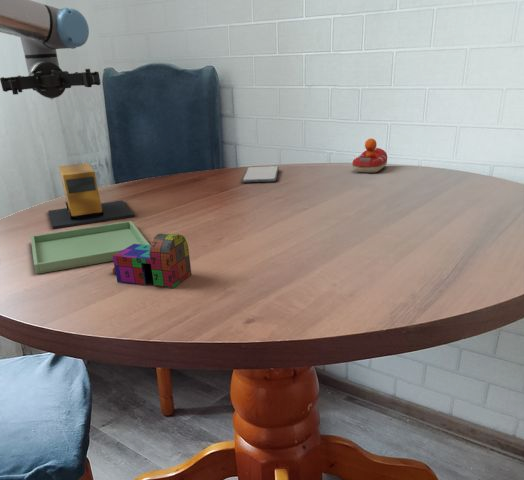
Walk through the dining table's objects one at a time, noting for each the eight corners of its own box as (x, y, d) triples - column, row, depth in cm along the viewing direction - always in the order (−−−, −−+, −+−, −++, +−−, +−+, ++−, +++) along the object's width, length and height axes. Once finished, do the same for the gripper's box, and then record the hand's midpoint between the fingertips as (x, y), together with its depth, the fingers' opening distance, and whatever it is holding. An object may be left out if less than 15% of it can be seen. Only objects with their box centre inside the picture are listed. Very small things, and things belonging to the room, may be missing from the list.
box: (36, 274, 84) (33, 264, 83) (32, 244, 98) (30, 235, 97) (151, 254, 89) (150, 245, 89) (132, 228, 103) (131, 220, 103)
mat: (53, 228, 106) (52, 226, 106) (48, 212, 117) (48, 210, 117) (134, 216, 111) (133, 214, 111) (122, 202, 122) (122, 200, 122)
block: (199, 268, 82) (194, 224, 79) (172, 288, 76) (166, 241, 72) (132, 261, 86) (125, 219, 83) (102, 280, 80) (93, 235, 77)
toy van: (71, 222, 108) (61, 175, 103) (66, 209, 117) (57, 166, 113) (105, 217, 110) (96, 171, 106) (97, 205, 119) (89, 162, 115)
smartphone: (242, 179, 133) (247, 166, 146) (242, 183, 134) (248, 170, 146) (275, 178, 132) (278, 165, 145) (275, 182, 133) (278, 169, 146)
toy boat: (389, 165, 144) (391, 135, 140) (378, 174, 135) (380, 142, 131) (361, 164, 147) (362, 135, 143) (349, 173, 138) (350, 141, 134)
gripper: (105, 93, 133) (119, 97, 115) (-5, 101, 125) (-7, 107, 108) (98, 58, 129) (112, 57, 112) (-14, 65, 121) (-18, 65, 104)
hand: (54, 82), depth 110 cm, fingers open, 13 cm apart
